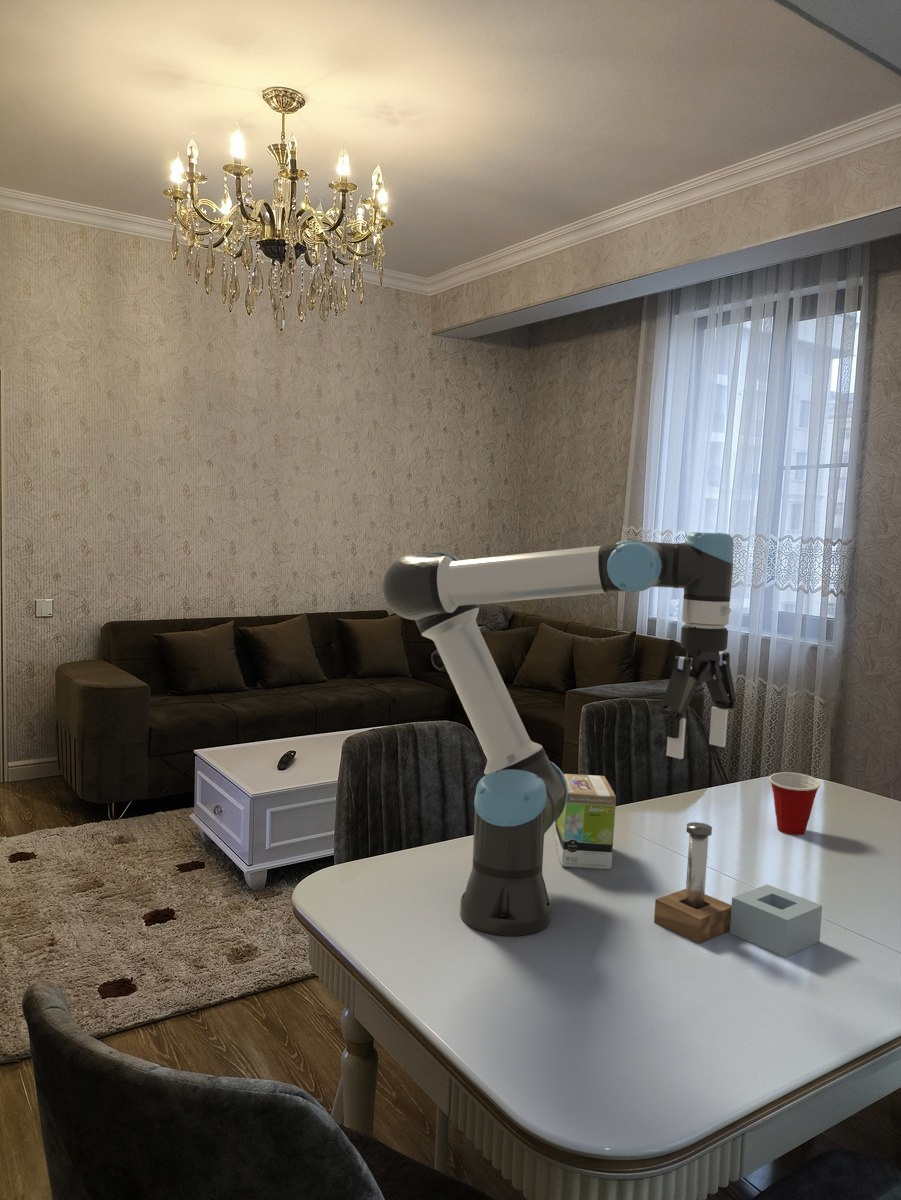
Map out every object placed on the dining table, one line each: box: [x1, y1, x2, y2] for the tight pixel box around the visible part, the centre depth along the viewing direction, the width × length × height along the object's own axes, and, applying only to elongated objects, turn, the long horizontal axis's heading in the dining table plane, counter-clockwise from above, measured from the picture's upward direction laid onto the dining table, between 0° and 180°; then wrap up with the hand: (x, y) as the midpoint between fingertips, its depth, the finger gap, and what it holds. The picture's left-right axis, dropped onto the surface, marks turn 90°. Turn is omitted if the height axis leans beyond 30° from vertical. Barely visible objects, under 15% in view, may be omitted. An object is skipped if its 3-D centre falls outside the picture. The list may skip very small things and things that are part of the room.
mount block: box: [653, 888, 732, 944], centre depth 148 cm, size 9×9×4 cm
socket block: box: [729, 884, 823, 958], centre depth 145 cm, size 10×10×6 cm
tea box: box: [554, 773, 617, 870], centre depth 178 cm, size 15×10×15 cm, turn 179°
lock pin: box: [685, 821, 713, 909], centre depth 147 cm, size 4×4×17 cm
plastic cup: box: [768, 771, 822, 836], centre depth 198 cm, size 11×11×12 cm
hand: (696, 751), depth 149 cm, fingers open, 13 cm apart
